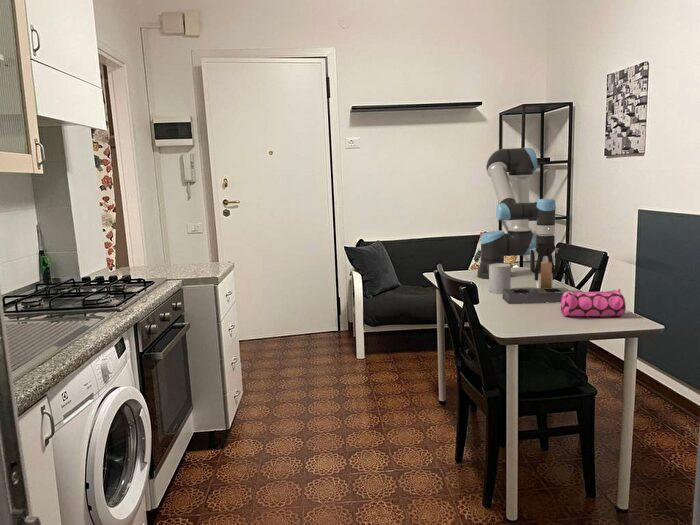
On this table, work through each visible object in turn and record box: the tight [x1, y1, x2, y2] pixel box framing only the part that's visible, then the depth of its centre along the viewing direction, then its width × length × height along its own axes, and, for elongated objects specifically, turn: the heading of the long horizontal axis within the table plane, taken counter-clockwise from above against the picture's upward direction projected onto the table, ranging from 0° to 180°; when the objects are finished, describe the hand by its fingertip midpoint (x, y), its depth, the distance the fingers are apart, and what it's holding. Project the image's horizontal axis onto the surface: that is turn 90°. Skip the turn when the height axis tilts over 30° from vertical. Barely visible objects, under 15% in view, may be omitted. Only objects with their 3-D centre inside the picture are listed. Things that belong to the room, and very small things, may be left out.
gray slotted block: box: [502, 286, 571, 305], centre depth 223 cm, size 10×26×4 cm, turn 88°
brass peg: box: [539, 260, 553, 288], centre depth 234 cm, size 4×4×14 cm
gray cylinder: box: [488, 262, 512, 295], centre depth 241 cm, size 10×10×12 cm
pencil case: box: [560, 288, 626, 318], centre depth 197 cm, size 21×10×10 cm, turn 88°
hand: (544, 287), depth 235 cm, fingers closed on brass peg, 4 cm apart
